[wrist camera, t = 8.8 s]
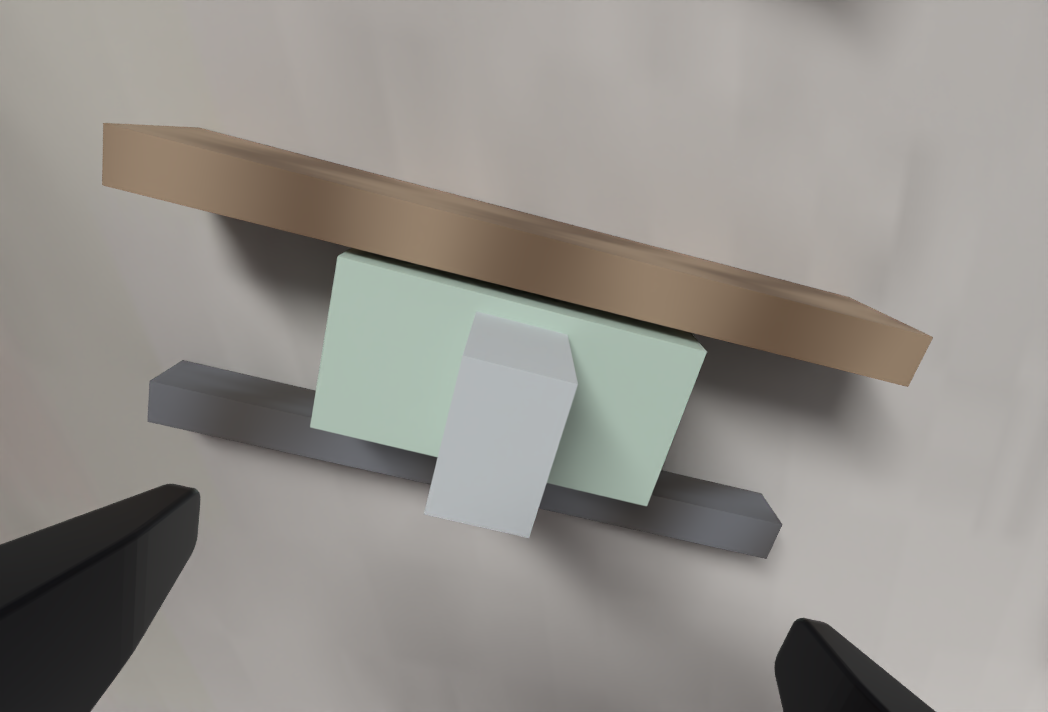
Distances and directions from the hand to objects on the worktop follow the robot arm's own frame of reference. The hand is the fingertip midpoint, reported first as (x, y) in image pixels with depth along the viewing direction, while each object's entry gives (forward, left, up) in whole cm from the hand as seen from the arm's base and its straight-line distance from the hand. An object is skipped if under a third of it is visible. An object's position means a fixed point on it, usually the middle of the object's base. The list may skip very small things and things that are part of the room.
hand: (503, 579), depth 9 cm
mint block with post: (0, 0, -13) cm, 13 cm away
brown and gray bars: (0, +1, -13) cm, 13 cm away
